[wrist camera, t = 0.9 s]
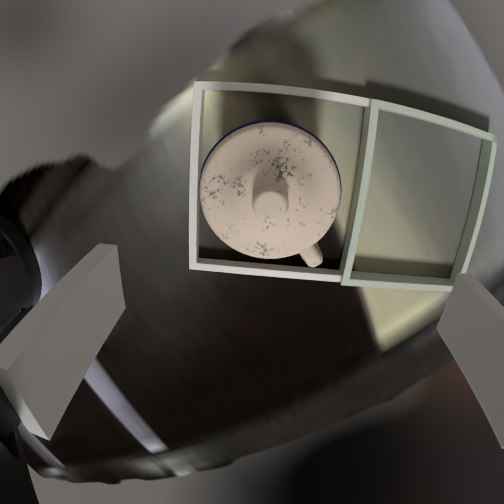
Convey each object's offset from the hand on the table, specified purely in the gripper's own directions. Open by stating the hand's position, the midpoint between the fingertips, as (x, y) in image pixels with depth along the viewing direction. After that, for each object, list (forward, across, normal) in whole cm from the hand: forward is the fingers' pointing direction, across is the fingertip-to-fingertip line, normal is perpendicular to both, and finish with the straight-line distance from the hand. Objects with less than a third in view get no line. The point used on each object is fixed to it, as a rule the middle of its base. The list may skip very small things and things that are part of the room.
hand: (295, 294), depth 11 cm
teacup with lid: (+19, 0, 0) cm, 19 cm away
